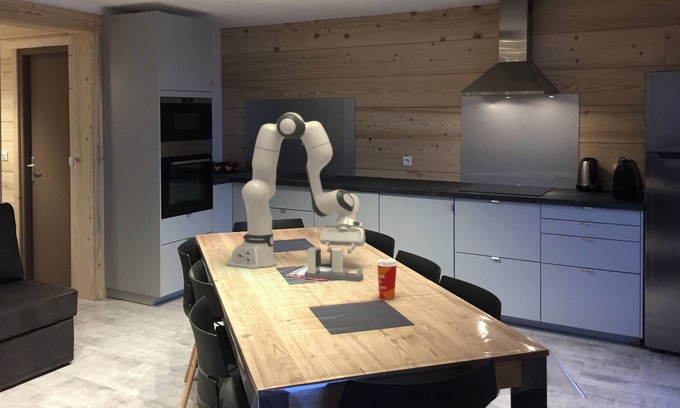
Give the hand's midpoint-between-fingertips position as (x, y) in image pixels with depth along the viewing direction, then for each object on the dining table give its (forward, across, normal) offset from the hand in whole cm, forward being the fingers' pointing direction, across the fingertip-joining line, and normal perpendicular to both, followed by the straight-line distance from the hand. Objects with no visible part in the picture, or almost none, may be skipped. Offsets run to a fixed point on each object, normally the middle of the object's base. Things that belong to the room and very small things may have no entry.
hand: (338, 252), depth 291 cm
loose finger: (+8, 0, +4) cm, 9 cm away
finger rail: (+15, +2, -4) cm, 16 cm away
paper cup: (+32, +30, -20) cm, 48 cm away
